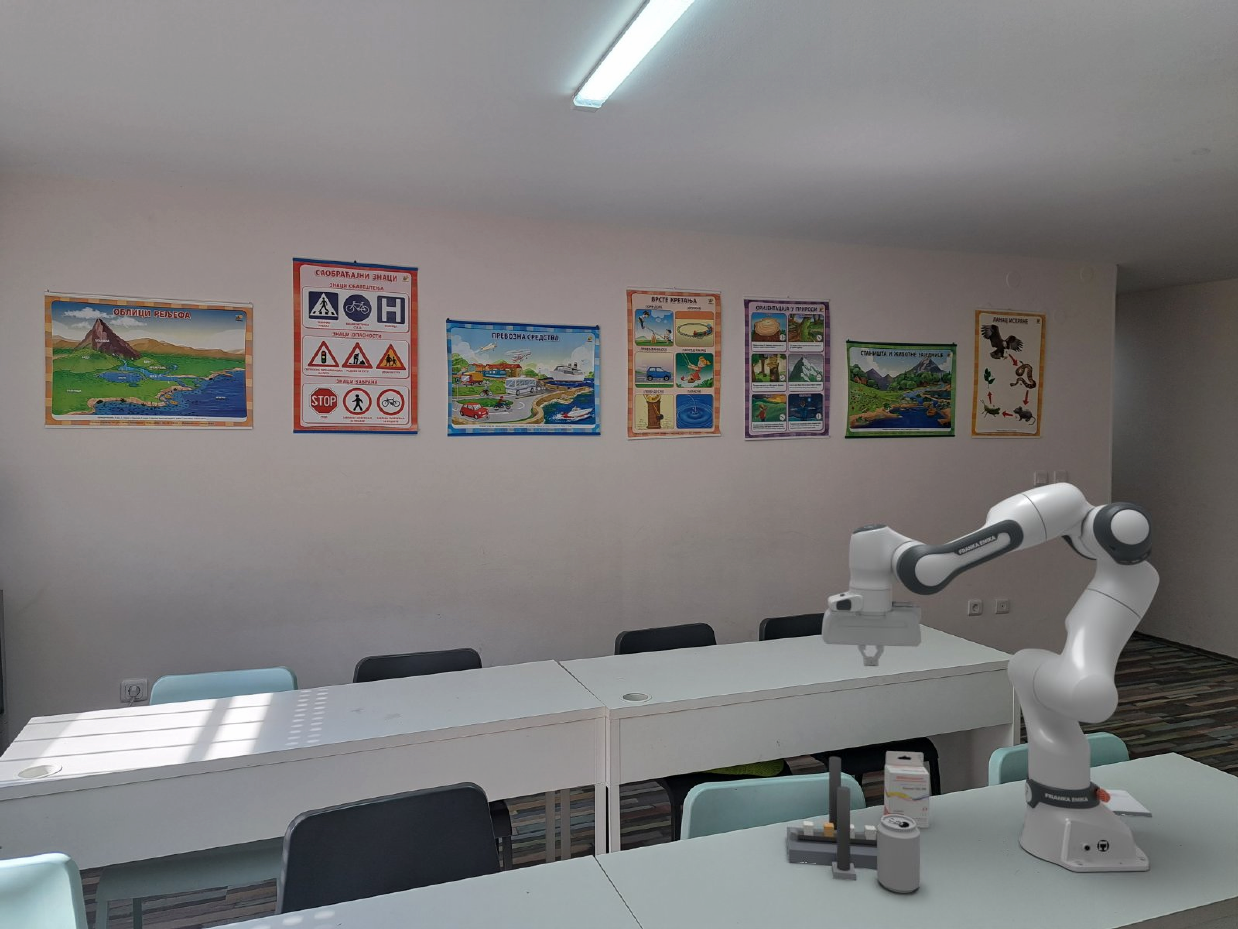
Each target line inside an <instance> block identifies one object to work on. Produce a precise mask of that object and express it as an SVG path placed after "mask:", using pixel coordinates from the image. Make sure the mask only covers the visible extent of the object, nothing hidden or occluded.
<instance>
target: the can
mask: <svg viewBox="0 0 1238 929" xmlns="http://www.w3.org/2000/svg"><path fill="white" fill-rule="evenodd" d="M876 833H877V869H876V878H877V880H878V881H879V882H880V883H881V885H882V887H884V888H885V889H887V890H889V891H892V892H894V893H900V894H907V893H911V892H913V891H914V890H916V889H918V887H920V882H921V881H920V880H921V869H920V868H921V850H920V848H921V842H920V841H921V831H920V829H919V827H916V822H915V821H914V820H913V819H911V818H909V817H907V816H904V815H899V814H888V815H884V814H883V815H882V816H881V818H880V822H878V823H877V827H876Z"/></svg>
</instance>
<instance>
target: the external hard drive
mask: <svg viewBox="0 0 1238 929" xmlns="http://www.w3.org/2000/svg"><path fill="white" fill-rule="evenodd" d="M1103 789H1104V790H1105V791H1106V792H1107V793H1109V795H1110V797H1111V798H1109V799H1111V800H1108V801H1109V802H1107V803H1105V802H1102V801H1101V800H1100V802H1101V803H1102V804H1103V805H1105V806H1106V807H1107V808H1108V809H1110V810H1111V811H1112V812H1113V813H1115V814H1125V815H1132V816H1131V817H1140V816H1145V818H1152V817H1153V816H1152V813H1151V811H1149V810H1148V809H1147V808H1146V807H1145V806H1144V805H1142V804H1141V803H1140V802H1139V801H1138V800H1137V799H1135V798H1134V797H1133V795H1131V794H1130V793H1128V791H1126V790H1121V789H1105V788H1103Z"/></svg>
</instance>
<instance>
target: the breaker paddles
mask: <svg viewBox="0 0 1238 929" xmlns="http://www.w3.org/2000/svg"><path fill="white" fill-rule="evenodd" d="M802 822H803V827H802V828H803V831H800V830H798V839H808V840H822V841H836V842H837V833H834V825H833V823H829V822H823V829H824V832H814V831H813V829H814V823H813V821H806V820H803V821H802ZM855 832H856V829H855V825H854V824H852V823H850V843H864V844H877V836H876V833H877V829H876V827H875V825H866V824H865V825H864V832H865V835H857V834H855Z"/></svg>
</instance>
